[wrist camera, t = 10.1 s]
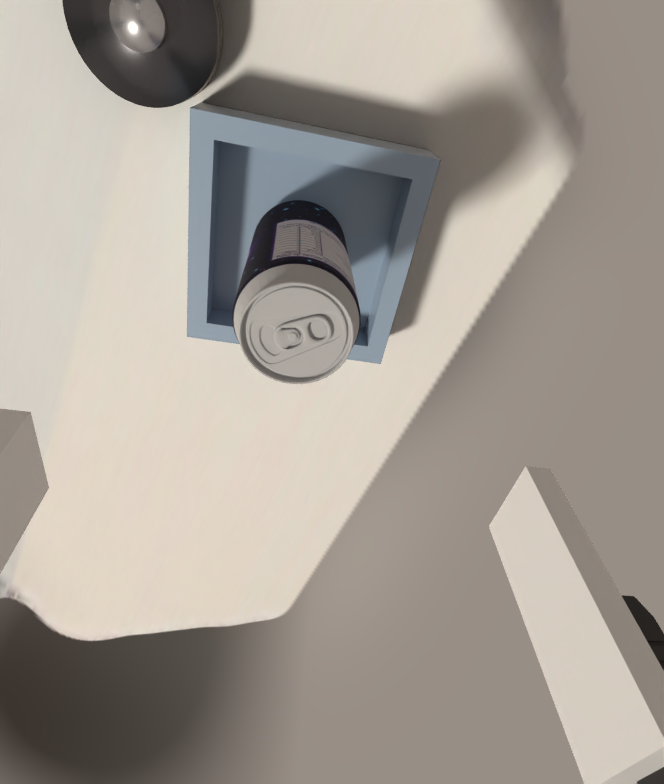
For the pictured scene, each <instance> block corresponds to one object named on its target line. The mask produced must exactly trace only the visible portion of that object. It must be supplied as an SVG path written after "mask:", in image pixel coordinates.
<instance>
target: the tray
mask: <svg viewBox="0 0 664 784" xmlns="http://www.w3.org/2000/svg"><path fill="white" fill-rule="evenodd" d="M439 164H440V159H439V158H438V157H436V156H435V155H434V154H433V153H432V152H431V151H429V150H426V149H421V148H416V147H411V146H407V145H402V144H397V143H392V142H388V141H383V140H378V139H373V138H369V137H364V136H359V135H354V134H349V133H345V132H340V131H335V130H330V129H326V128H321V127H316V126H311V125H307V124H302V123H297V122H292V121H288V120H283V119H278V118H273V117H268V116H264V115H259V114H254V113H249V112H245V111H240V110H235V109H230V108H226V107H221V106H216V105H211V104H207V103H202V102H201V103H199V104H197V105H195V106H193V107H191V108H190V155H189V227H188V298H187V337H193V338H200V339H207V340H214V341H222V342H229V343H236V344H239V342H238V340H237V338H236V335H235V332H234V328H233V322H232V312H233V306H234V302H235V298H236V295H237V291H238V288H239V284H240V281H241V277H242V274H243V270H244V267H245V263H246V260H247V256H248V253H249V249H250V246H251V242H252V239H253V235H254V232H255V229H256V227H257V225H258V223H259V221H260V220H261V218H262V217H263V216H264V215H265V214H266V213H267V212H268V211H269V210H270V209H271V208H273V207H275V206H276V205H278V204H281V203H283V202H287V201H292V200H304V201H309V202H313V203H316V204H318V205H320V206H322V207H323V208H325V209H326V210H328V211H329V212H330V213H331V214H332V215H333V216H334V217H335V218H336V220H337V221H338V222H339V224H340V226H341V228H342V230H343V233H344V236H345V241H346V246H347V251H348V255H349V260H350V265H351V270H352V274H353V279H354V284H355V288H356V293H357V298H358V303H359V307H360V313H361V325H360V331H359V335H358V338H357V340H356V342H355V344H354V346H353V347H352V349H351V352H350V354H349V356H348V357H347V359H349V360H356V361H363V362H371V363H378V364H381V361H382V358H383V354H384V351H385V348H386V344H387V341H388V337H389V334H390V331H391V327H392V324H393V320H394V317H395V313H396V310H397V307H398V303H399V300H400V296H401V293H402V290H403V286H404V283H405V279H406V276H407V273H408V269H409V266H410V262H411V259H412V256H413V252H414V249H415V245H416V242H417V239H418V235H419V232H420V228H421V225H422V222H423V218H424V215H425V211H426V208H427V204H428V201H429V198H430V194H431V191H432V187H433V184H434V181H435V177H436V174H437V170H438V167H439Z"/></svg>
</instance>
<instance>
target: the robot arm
mask: <svg viewBox="0 0 664 784" xmlns="http://www.w3.org/2000/svg"><path fill="white" fill-rule="evenodd" d="M48 488H49V486H48V482H47V478H46V474H45V470H44V466H43V462H42V457H41V453H40V449H39V445H38V441H37V437H36V433H35V428H34V424H33V420H32V416H31V412H25V411H16V410H7V409H0V573H1V571H2V570H3V568H4V566H5V564H6V563H7V561H8V559H9V557H10V555H11V554H12V552H13V550H14V548H15V547H16V545H17V543H18V541H19V540H20V538H21V536H22V534H23V533H24V531H25V529H26V527H27V525H28V524H29V522H30V520H31V518H32V517H33V515H34V513H35V511H36V510H37V508H38V506H39V504H40V503H41V501H42V499H43V497H44V495H45V494H46V492H47V490H48ZM489 528H490V531H491V533H492V536H493V539H494V541H495V544H496V547H497V549H498V552H499V555H500V557H501V560H502V563H503V566H504V568H505V571H506V574H507V576H508V579H509V582H510V585H511V587H512V590H513V593H514V595H515V598H516V601H517V603H518V606H519V609H520V611H521V614H522V617H523V619H524V622H525V625H526V628H527V630H528V633H529V636H530V638H531V641H532V644H533V647H534V649H535V652H536V654H537V657H538V660H539V663H540V665H541V668H542V671H543V673H544V676H545V679H546V682H547V684H548V687H549V690H550V692H551V695H552V698H553V700H554V703H555V706H556V708H557V711H558V714H559V717H560V719H561V722H562V725H563V727H564V730H565V733H566V736H567V738H568V741H569V744H570V746H571V749H572V752H573V754H574V757H575V759H576V762H577V765H578V768H579V771H580V773H581V776H582V779H583V781H584V784H635V783H638V784H664V634H663V632H662V630H661V628H660V627H659V625H658V623H657V622H656V620H655V619H654V617H653V616H652V615H651V614H650V613H649V612H648V611H647V610H646V609H645V607H643V605H642V604H641V603H640V602H639V601H638V600H637V599H636V598H635V597H634V596H621V594H620V592H619V590H618V589H617V587H616V585H615V583H614V581H613V580H612V578H611V576H610V574H609V573H608V571H607V569H606V567H605V565H604V564H603V562H602V560H601V558H600V556H599V555H598V553H597V551H596V549H595V547H594V546H593V544H592V542H591V540H590V539H589V537H588V535H587V533H586V532H585V530H584V528H583V526H582V525H581V523H580V521H579V519H578V517H577V515H576V514H575V512H574V510H573V508H572V507H571V505H570V503H569V501H568V499H567V498H566V496H565V494H564V492H563V491H562V489H561V487H560V485H559V483H558V482H557V480H556V478H555V476H554V474H553V473H552V471H551V469H547V468H537V467H528V466H526V467H525V468H524V470H523V472H522V473H521V475H520V477H519V478H518V480H517V481H516V483H515V485H514V486H513V488H512V490H511V492H510V493H509V495H508V496H507V498H506V499H505V501H504V503H503V504H502V506H501V508H500V509H499V511H498V513H497V514H496V516H495V517H494V519H493V521H492V522H491V524H490V526H489Z"/></svg>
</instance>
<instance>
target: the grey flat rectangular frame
mask: <svg viewBox="0 0 664 784" xmlns="http://www.w3.org/2000/svg"><path fill="white" fill-rule="evenodd" d="M63 8H64V14H65V18H66V22H67V26H68V29H69V32H70V35H71V37H72V40H73V42H74V44H75V46H76V48H77V50H78V52H79V54H80V55H81V57H82V59H83V60H84V62H85V63H86V65H87V66H88V67H89V69H90V70H91V72H92V73H93V74H94V75H95V76H96V77H97V78H98V79H99V80H100V81H101V82H102V83H103V84H104V85H105V86H106V87H107V88H109V89H110V90H111V91H113V92H114V93H115V94H117V95H118V96H120V97H122V98H124V99H125V100H128V101H130V102H132V103H135V104H138V105H142V106H146V107H153V108H161V107H169V106H173V105H176V104H179V103H181V102H184V101H186V100H188V99H190V98H192V97H194V96H195V95H197V94H198V93H199V92H201V91H202V90H203V89H204V88H205V86H206V85H207V84H208V83H209V81H210V80H211V78H212V77H213V75H214V73H215V71H216V69H217V66H218V63H219V60H220V56H221V52H222V44H223V25H222V16H221V12H220V7H219V3H218V0H63Z"/></svg>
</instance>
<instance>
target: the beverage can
mask: <svg viewBox="0 0 664 784" xmlns="http://www.w3.org/2000/svg"><path fill="white" fill-rule="evenodd" d="M232 322H233V328H234V332H235V335H236V338H237V340H238V342H239V344H240V346H241V349H242V351H243V353H244V355H245V357H246V358H247V360H248V361H249V363H250V364H251V365H252V366H253V367H254V368H255V369H256V370H258V371H259V372H260V373H262V374H263V375H265V376H267V377H269V378H271V379H273V380H276V381H279V382H283V383H289V384H306V383H312V382H315V381H319V380H321V379H323V378H326V377H327V376H329V375H331V374H332V373H334V372H335V371H336V370H337V369H339V368H340V367H341V365H342V364H343V363H344V362H345V361H346V359H347V357H348V356H349V354H350V352H351V349H352V347H353V346H354V344H355V342H356V340H357V338H358V335H359V331H360V325H361V313H360V307H359V303H358V298H357V293H356V288H355V284H354V279H353V274H352V270H351V265H350V260H349V255H348V251H347V246H346V241H345V236H344V233H343V230H342V228H341V226H340V224H339V222H338V221H337V220H336V218H335V217H334V216H333V215H332V214H331V213H330V212H329V211H328V210H326V209H325V208H323V207H322V206H320V205H318V204H316V203H313V202H309V201H304V200H292V201H287V202H283V203H281V204H278V205H276V206H275V207H273V208H271V209H270V210H269V211H268V212H267V213H266V214H265V215H264V216H263V217H262V218H261V220H260V221H259V223H258V225H257V227H256V229H255V232H254V235H253V239H252V242H251V246H250V249H249V253H248V256H247V260H246V263H245V267H244V270H243V274H242V277H241V281H240V284H239V288H238V291H237V295H236V298H235V302H234V306H233V312H232Z"/></svg>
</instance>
